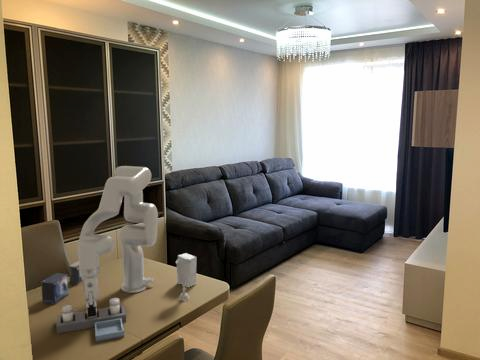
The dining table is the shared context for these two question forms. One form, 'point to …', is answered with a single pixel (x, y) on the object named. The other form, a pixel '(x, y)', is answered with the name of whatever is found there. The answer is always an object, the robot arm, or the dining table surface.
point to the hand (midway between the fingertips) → (91, 312)
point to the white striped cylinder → (96, 311)
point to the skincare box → (192, 276)
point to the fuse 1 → (67, 313)
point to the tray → (109, 330)
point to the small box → (54, 288)
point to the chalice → (183, 274)
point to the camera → (75, 274)
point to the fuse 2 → (114, 306)
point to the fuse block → (82, 321)
